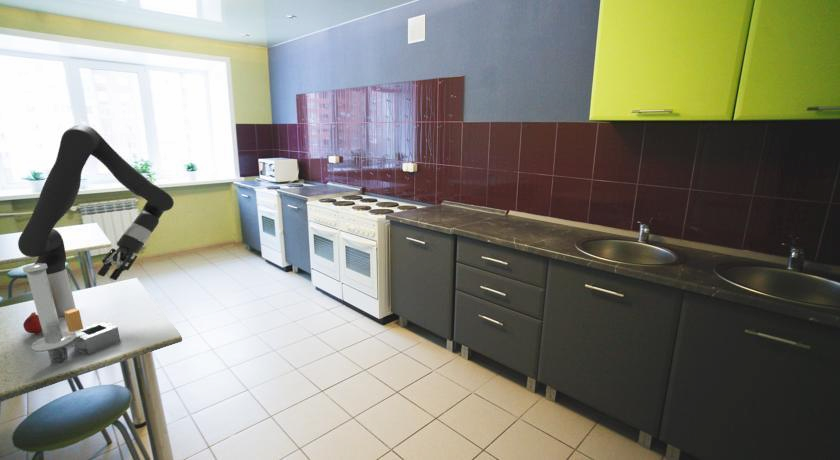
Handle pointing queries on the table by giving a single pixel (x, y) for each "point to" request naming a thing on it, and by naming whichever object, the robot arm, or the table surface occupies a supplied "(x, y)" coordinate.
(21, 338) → the table surface
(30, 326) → the pomegranate
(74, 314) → the orange block
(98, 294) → the table surface
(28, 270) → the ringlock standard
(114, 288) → the table surface
